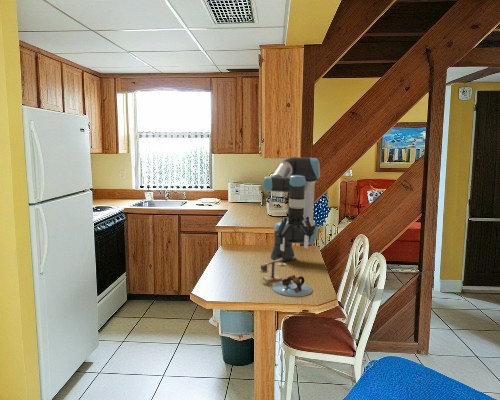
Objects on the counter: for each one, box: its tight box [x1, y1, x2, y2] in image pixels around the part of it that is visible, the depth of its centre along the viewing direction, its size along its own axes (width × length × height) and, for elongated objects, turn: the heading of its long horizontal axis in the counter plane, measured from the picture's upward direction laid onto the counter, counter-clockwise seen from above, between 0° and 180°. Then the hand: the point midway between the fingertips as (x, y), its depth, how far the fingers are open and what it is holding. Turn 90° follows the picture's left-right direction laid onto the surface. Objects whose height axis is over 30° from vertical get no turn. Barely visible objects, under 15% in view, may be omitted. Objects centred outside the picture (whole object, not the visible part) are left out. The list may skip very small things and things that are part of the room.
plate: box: [272, 281, 313, 298], centre depth 206 cm, size 20×20×1 cm
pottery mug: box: [281, 274, 306, 293], centre depth 204 cm, size 12×9×8 cm
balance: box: [258, 258, 288, 283], centre depth 218 cm, size 16×5×11 cm, turn 114°
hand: (294, 249), depth 203 cm, fingers open, 13 cm apart
